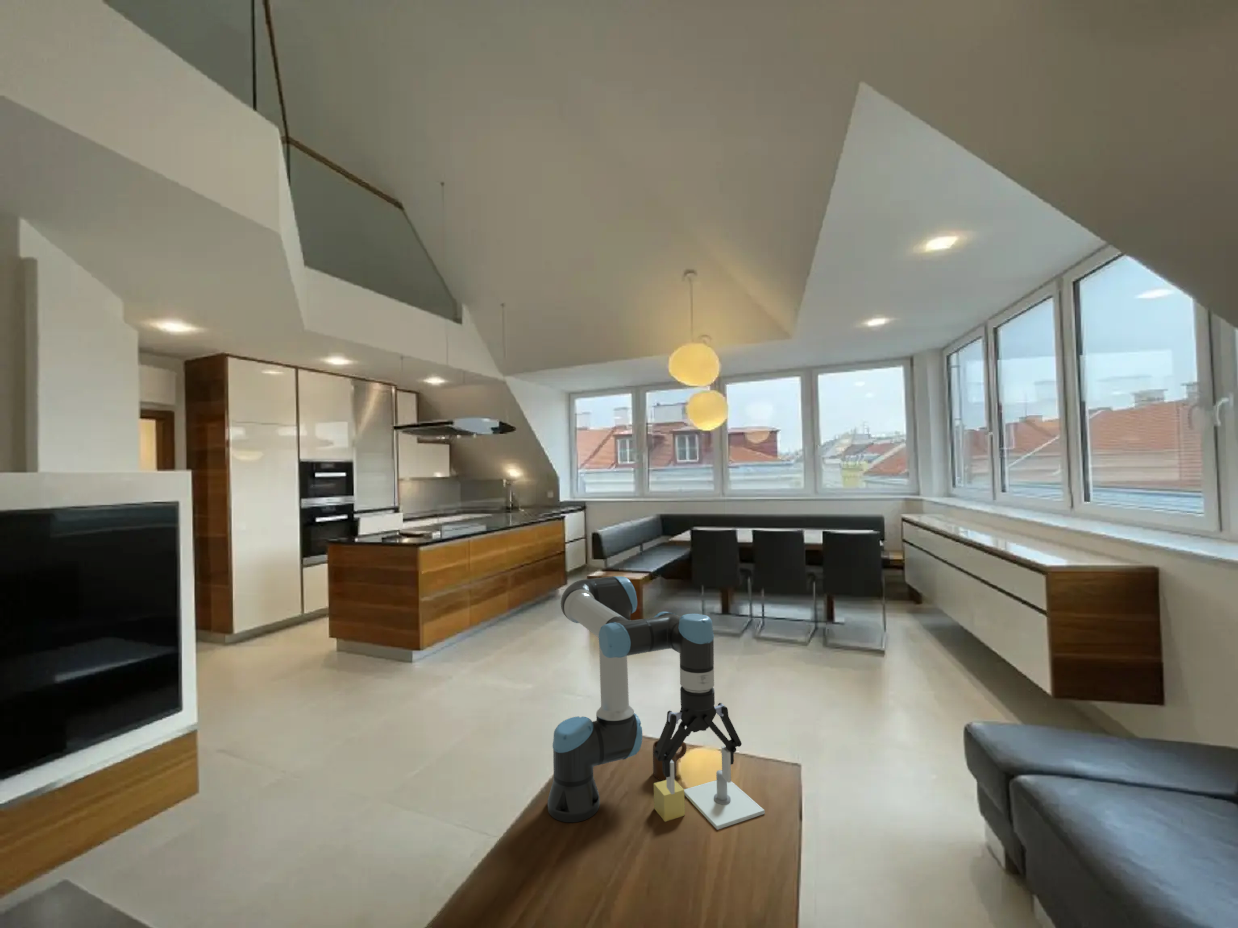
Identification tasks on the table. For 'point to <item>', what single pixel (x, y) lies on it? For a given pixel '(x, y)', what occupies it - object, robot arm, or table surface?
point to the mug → (658, 764)
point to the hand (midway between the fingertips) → (699, 784)
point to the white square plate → (723, 802)
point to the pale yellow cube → (669, 801)
